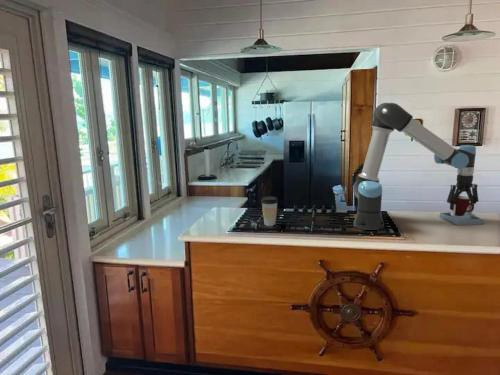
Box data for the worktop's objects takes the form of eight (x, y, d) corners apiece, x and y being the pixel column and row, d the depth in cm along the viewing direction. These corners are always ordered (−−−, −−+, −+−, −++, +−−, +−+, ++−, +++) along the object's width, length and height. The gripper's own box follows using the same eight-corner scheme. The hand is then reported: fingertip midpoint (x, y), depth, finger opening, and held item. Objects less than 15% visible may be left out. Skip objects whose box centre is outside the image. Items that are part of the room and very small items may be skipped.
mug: (469, 214, 207) (472, 197, 204) (474, 218, 199) (477, 200, 197) (448, 212, 209) (451, 195, 207) (452, 216, 202) (455, 198, 200)
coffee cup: (281, 226, 203) (281, 199, 200) (265, 228, 199) (264, 201, 196) (273, 221, 211) (273, 195, 208) (258, 223, 208) (257, 197, 205)
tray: (457, 225, 197) (457, 220, 196) (439, 216, 212) (440, 212, 211) (483, 224, 198) (483, 219, 197) (464, 215, 213) (464, 211, 212)
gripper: (450, 176, 195) (446, 218, 200) (489, 174, 197) (484, 216, 201) (441, 174, 202) (438, 214, 207) (479, 172, 204) (475, 212, 209)
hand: (461, 215), depth 204 cm, fingers closed on mug, 9 cm apart
